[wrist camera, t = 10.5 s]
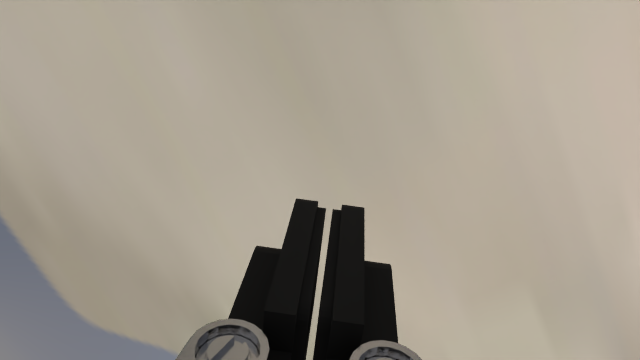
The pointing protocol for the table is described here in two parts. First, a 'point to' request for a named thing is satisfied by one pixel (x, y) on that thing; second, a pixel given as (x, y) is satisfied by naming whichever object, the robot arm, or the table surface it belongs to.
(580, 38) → the table surface
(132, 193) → the table surface
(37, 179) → the table surface
